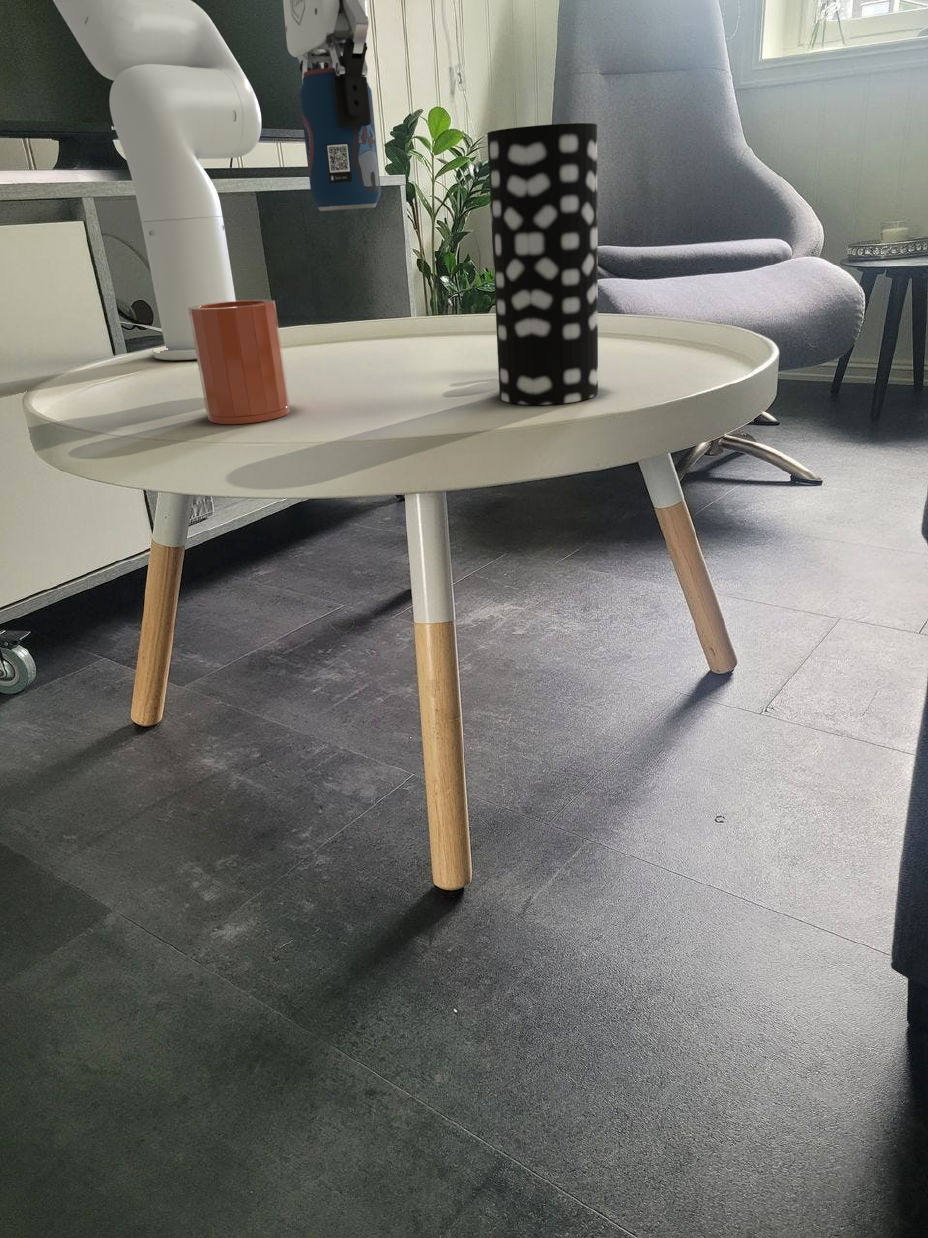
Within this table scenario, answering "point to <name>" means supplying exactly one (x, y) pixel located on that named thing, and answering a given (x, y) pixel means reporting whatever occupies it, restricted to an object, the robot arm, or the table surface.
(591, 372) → the spotted tube
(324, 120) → the soda can
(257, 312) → the coffee cup
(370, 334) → the table surface
